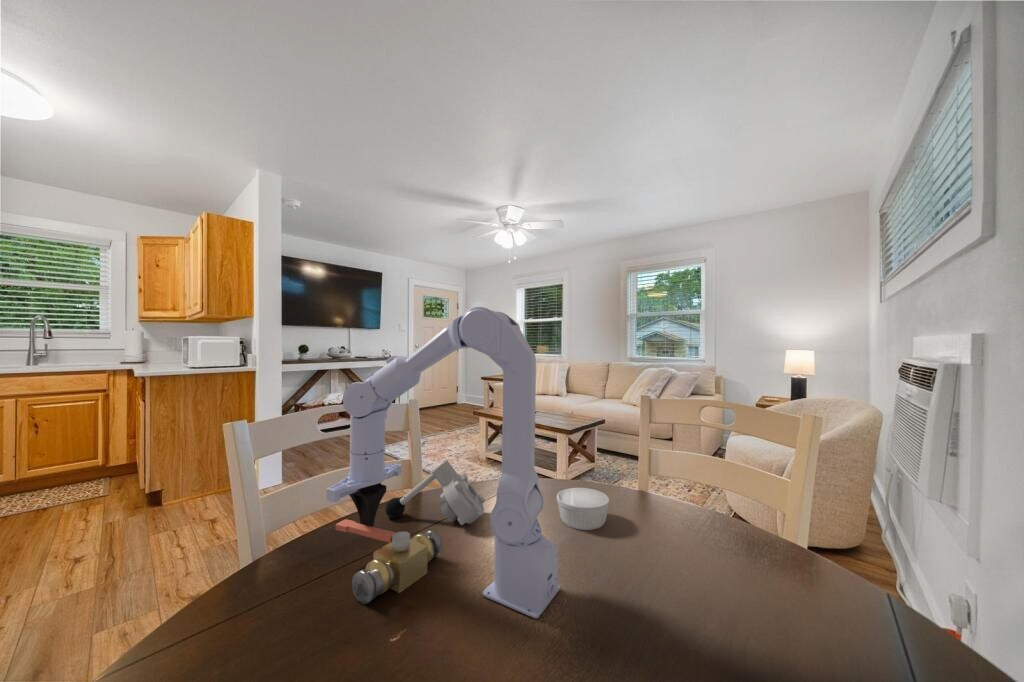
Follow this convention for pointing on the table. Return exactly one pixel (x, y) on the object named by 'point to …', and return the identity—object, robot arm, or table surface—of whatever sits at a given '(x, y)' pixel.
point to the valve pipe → (396, 567)
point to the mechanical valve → (446, 496)
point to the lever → (376, 534)
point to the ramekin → (583, 508)
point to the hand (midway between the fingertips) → (366, 528)
